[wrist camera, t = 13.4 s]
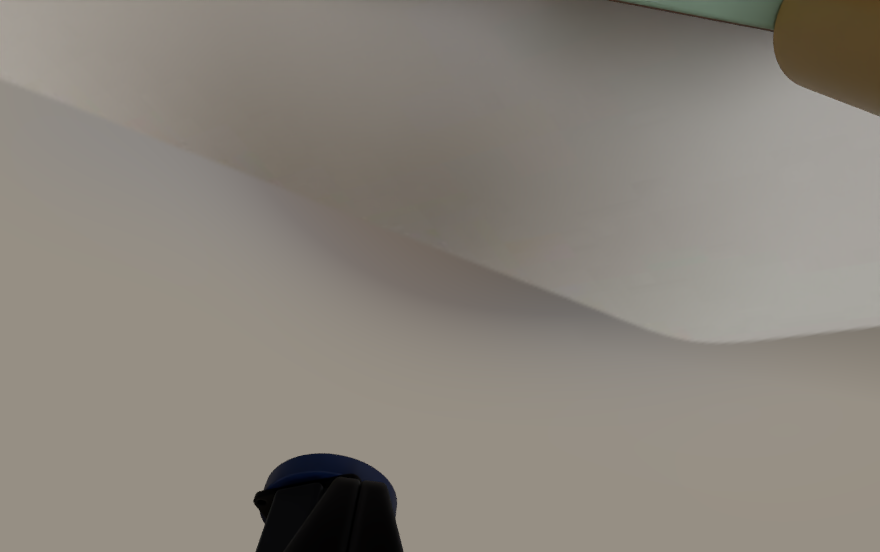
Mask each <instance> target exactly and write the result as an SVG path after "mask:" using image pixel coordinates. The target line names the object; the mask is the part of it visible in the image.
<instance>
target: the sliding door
mask: <svg viewBox="0 0 880 552" xmlns="http://www.w3.org/2000/svg"><path fill="white" fill-rule="evenodd" d="M618 1H624V2H629V3H634V4H639V5H645V6H650V7H655V8H660V9H665V10H671V11H676V12H681V13H686V14H692V15H697V16H702V17H707V18H712V19H718V20H723V21H728V22H733V23H739V24H744V25H749V26H754V27H759V28H765V29H770V30H774V35H773V44H774V52H775V56H776V59H777V62H778V64H779V66H780V68H781V70H782V71H783V72H784V74H785V75H786V76H787V77H788V78H789V79H790V80H791V81H793V82H794V83H796V84H798V85H800V86H802V87H804V88H807V89H810V90H812V91H815V92H817V93H820V94H823V95H825V96H828V97H830V98H833V99H836V100H838V101H841V102H843V103H846V104H849V105H851V106H854V107H857V108H859V109H862V110H864V111H867V112H870V113H872V114H875V115H877V116H880V0H618Z"/></svg>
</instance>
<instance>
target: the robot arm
mask: <svg viewBox="0 0 880 552" xmlns="http://www.w3.org/2000/svg"><path fill="white" fill-rule="evenodd" d="M253 502H254V504H255V506H256V507H257V508H258V509H259V511H260V512H261V513H262V514H263V516H264V517H265V518H266V523H265V526H264V529H263V532H262V535H261V538H260V540H259V543H258V546H257V549H256V552H403V548H402V544H401V540H400V536H399V532H398V528H397V525H396V520H395V516H394V512H393V508H392V504H391V500H390V496H389V492H388V489H387V486H386V485H385V484H384V483H381V482H374V481H363V482H362V481H361V479H360V478H359V476H357V475H355V474H344V475H339V476H334V477H328V478H323V479H318V480H313V481H308V482H303V483H298V484H293V485H288V486H283V487H278V488H273V489H268V490H262V491H259V492H257V493H256V494H255V497H254V500H253Z"/></svg>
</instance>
